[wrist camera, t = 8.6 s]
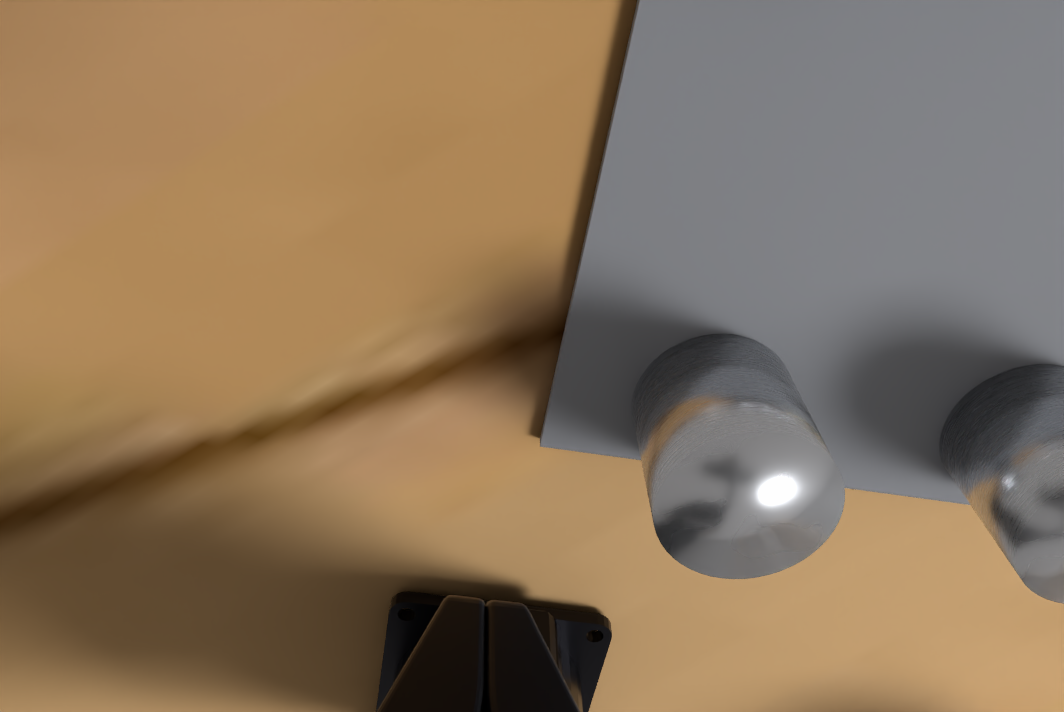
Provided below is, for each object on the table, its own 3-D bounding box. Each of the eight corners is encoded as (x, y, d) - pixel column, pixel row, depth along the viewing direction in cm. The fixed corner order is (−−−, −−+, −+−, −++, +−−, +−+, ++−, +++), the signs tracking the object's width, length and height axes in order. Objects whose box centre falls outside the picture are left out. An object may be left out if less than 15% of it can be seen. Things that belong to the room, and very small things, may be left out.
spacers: (1046, 515, 24) (1135, 629, 20) (559, 449, 22) (566, 559, 19) (1519, -256, 15) (1813, -285, 12) (769, -438, 14) (853, -531, 10)
